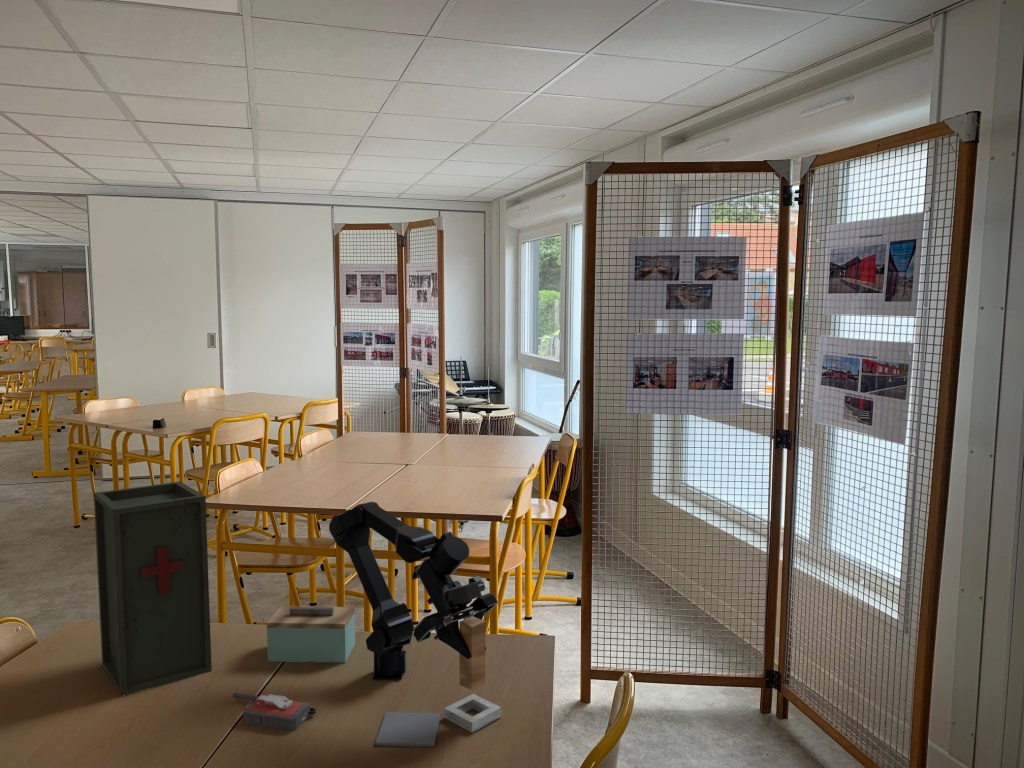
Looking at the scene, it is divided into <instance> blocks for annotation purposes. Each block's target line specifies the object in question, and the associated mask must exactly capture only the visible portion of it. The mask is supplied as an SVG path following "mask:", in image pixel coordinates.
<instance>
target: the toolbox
mask: <svg viewBox="0 0 1024 768" xmlns="http://www.w3.org/2000/svg"><path fill="white" fill-rule="evenodd" d="M355 608H356V607H355V606H307V605H306V606H305V605H304V606H302V605H301V606H300V605H299V606H297V605H292V606H290V605H281V606H279V607H278V609H277V610H276V611H275V613H274V614H273V615H272V616H271V617H270V619H269V620H268V621H267V622H266V638H267V639H266V643H267V647H266V648H267V662H277V661H281V662H280V663H282V662H283V663H284V662H285V663H286V662H287V663H289V662H290V663H291V662H293V663H298V662H299V663H311V662H310V661H314V662H313V663H330V662H329V661H332V662H331V663H346V662H347V661H348V659H349V657H348V656H350V655H351V653H352V651H353V649H354V647H355V645H356V614H355V613H356V612H355ZM349 654H350V655H349ZM347 658H348V659H347ZM346 660H347V661H346ZM307 661H309V662H307ZM315 661H316V662H315ZM317 661H318V662H317Z"/></svg>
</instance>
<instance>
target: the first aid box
mask: <svg viewBox="0 0 1024 768" xmlns="http://www.w3.org/2000/svg"><path fill="white" fill-rule="evenodd" d="M93 504H94V505H93V507H94V511H93V512H94V527H95V528H94V529H95V544H96V546H95V547H96V567H97V568H96V569H97V585H98V586H97V589H98V607H99V626H100V627H99V628H100V648H101V664H102V665H101V666H102V667H103V666H104V667H103V669H104V668H105V669H104V671H105V672H106V671H107V672H106V674H107V675H108V677H109V676H110V677H111V678H110V677H109V678H110V680H111V679H112V680H111V682H112V683H113V682H114V683H113V685H114V684H115V685H116V686H115V685H114V686H115V688H116V687H117V688H118V689H117V688H116V689H117V691H118V690H119V691H118V693H119V692H120V693H121V694H120V693H119V694H120V695H122V696H123V695H126V694H130V695H132V694H131V693H133V694H136V693H135V692H137V693H139V692H138V691H140V692H142V691H141V690H144V691H146V690H145V689H147V690H150V688H151V689H153V687H154V688H157V686H158V687H161V686H164V685H168V684H171V683H174V682H179V681H181V680H185V679H189V678H192V677H196V676H199V675H203V674H206V673H210V672H212V671H213V670H212V668H213V667H212V664H213V663H212V641H211V617H210V616H211V613H210V612H211V611H210V590H209V587H210V586H209V582H210V581H209V561H208V560H209V559H208V558H209V557H208V555H209V554H208V529H207V528H208V527H207V505H206V504H207V501H206V495H204V494H202V493H200V492H199V491H197V490H195V489H194V488H192V487H191V486H189V485H187V484H185V483H183V482H182V481H173V482H167V483H166V482H165V483H158V484H151V485H143V486H137V487H130V488H129V487H128V488H121V489H113V490H105V491H97V492H93ZM148 688H149V689H148ZM122 696H121V697H122ZM126 696H127V695H126ZM123 697H124V696H123Z"/></svg>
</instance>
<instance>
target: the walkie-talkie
mask: <svg viewBox="0 0 1024 768" xmlns="http://www.w3.org/2000/svg"><path fill="white" fill-rule="evenodd" d="M231 696H232V698H234V699H238V700H244V701H251V702H252V703H251V704H249V705H248V706H245V708H244V709H243V711H242V716H243V721H244V724H247V725H253V726H258V727H264V728H265V727H266V728H271V729H278V730H284V731H289V732H290V731H291V732H294V731H296V730H298V729H299V728H301V726H302V725H303V724H304V723H305V722H306V721H307V720H308V719H309V718H310V717H311V715H312V716H313V715H315V714H317V708H315V707H310V706H311V705H310V704H309V703H306V702H300V701H293V700H292V699H291V700H290V699H289V698H288V697H287V696H284V695H278V694H273V693H268V694H261V695H260V696H258V695H251V694H246V693H238V692H233V693H232V695H231Z"/></svg>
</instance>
